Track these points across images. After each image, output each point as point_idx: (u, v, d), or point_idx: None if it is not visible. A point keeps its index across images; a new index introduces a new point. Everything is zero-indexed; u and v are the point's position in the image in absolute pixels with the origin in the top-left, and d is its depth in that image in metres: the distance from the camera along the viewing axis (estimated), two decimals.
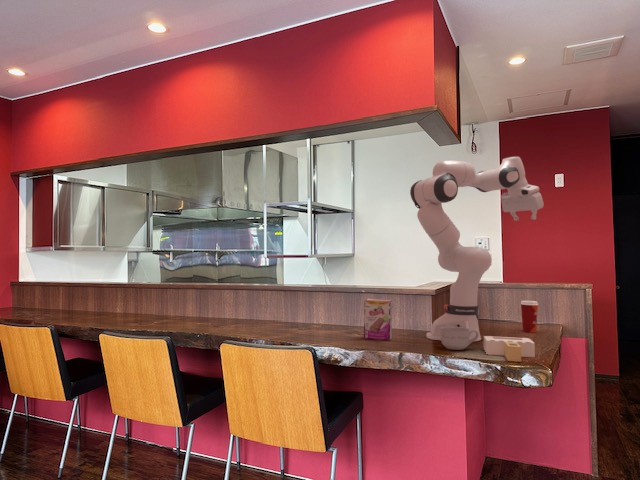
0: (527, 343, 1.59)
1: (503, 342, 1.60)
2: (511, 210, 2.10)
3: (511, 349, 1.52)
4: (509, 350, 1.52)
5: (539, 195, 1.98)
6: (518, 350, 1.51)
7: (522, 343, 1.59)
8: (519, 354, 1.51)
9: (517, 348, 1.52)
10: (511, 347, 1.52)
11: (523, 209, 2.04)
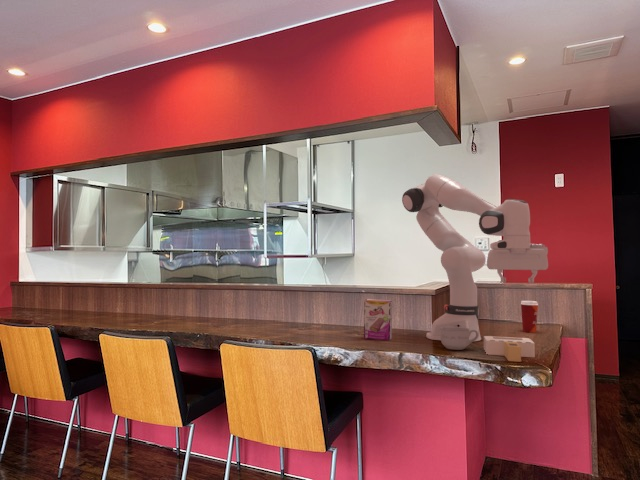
0: (527, 343, 1.59)
1: (503, 342, 1.60)
2: None
3: (511, 349, 1.52)
4: (509, 350, 1.52)
5: (490, 253, 1.61)
6: (518, 350, 1.51)
7: (522, 343, 1.59)
8: (519, 354, 1.51)
9: (517, 348, 1.52)
10: (511, 347, 1.52)
11: None
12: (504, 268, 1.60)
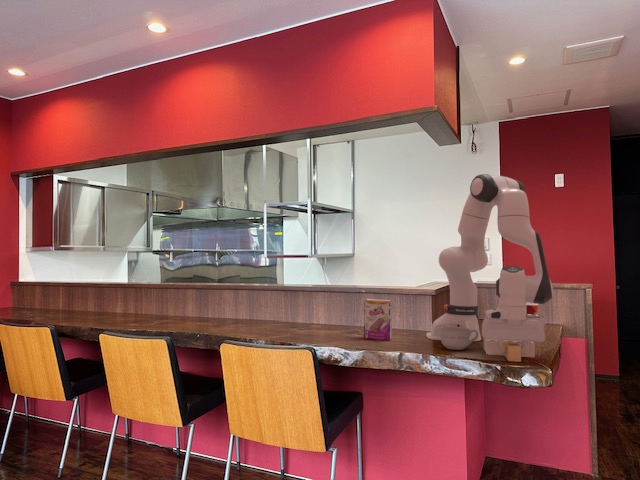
0: (527, 343, 1.59)
1: (503, 342, 1.60)
2: None
3: (511, 349, 1.52)
4: (509, 350, 1.52)
5: (484, 322, 1.57)
6: (518, 350, 1.51)
7: None
8: (519, 354, 1.51)
9: (517, 348, 1.52)
10: (511, 347, 1.52)
11: None
12: (498, 338, 1.55)
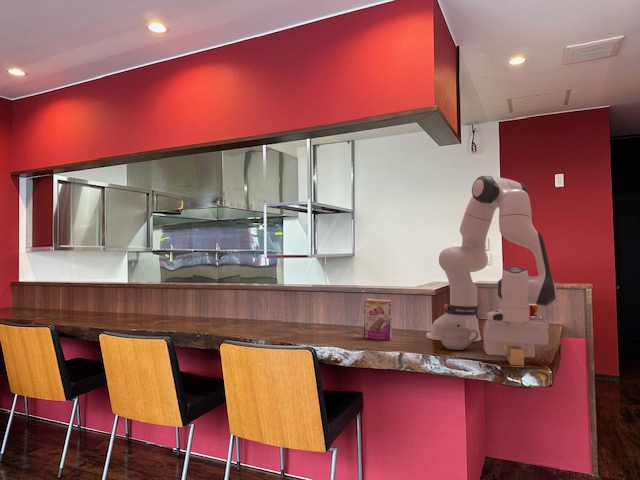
0: None
1: None
2: None
3: (514, 352, 1.47)
4: (512, 353, 1.47)
5: (486, 324, 1.52)
6: (521, 353, 1.47)
7: None
8: (522, 357, 1.47)
9: (520, 351, 1.47)
10: (514, 350, 1.47)
11: None
12: (500, 341, 1.50)
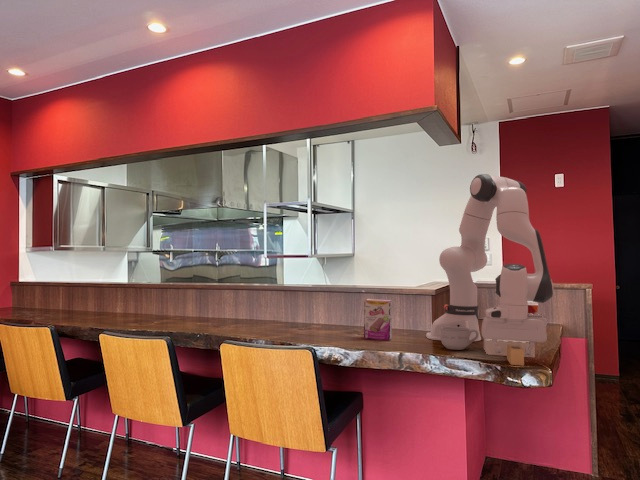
0: (527, 343, 1.59)
1: (503, 342, 1.60)
2: None
3: (514, 352, 1.47)
4: (512, 353, 1.47)
5: (484, 321, 1.52)
6: (521, 353, 1.47)
7: (522, 343, 1.59)
8: (522, 358, 1.46)
9: (520, 351, 1.47)
10: (514, 350, 1.47)
11: None
12: (498, 338, 1.51)
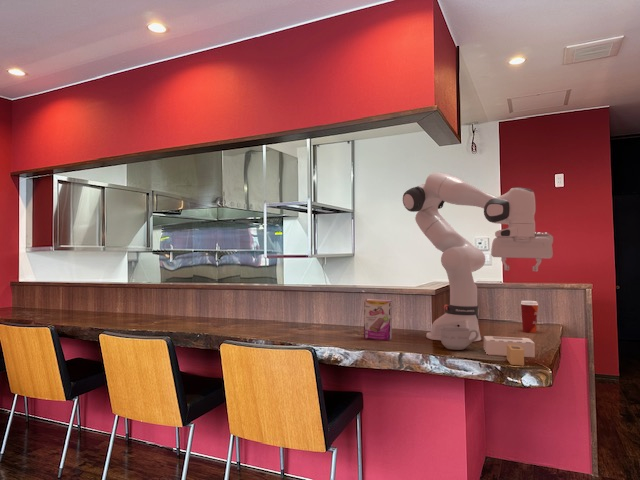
0: (527, 343, 1.59)
1: (503, 342, 1.60)
2: None
3: (514, 352, 1.47)
4: (512, 353, 1.47)
5: (494, 241, 1.62)
6: (521, 353, 1.47)
7: (522, 343, 1.59)
8: (522, 358, 1.46)
9: (520, 351, 1.47)
10: (514, 350, 1.47)
11: None
12: (507, 256, 1.61)
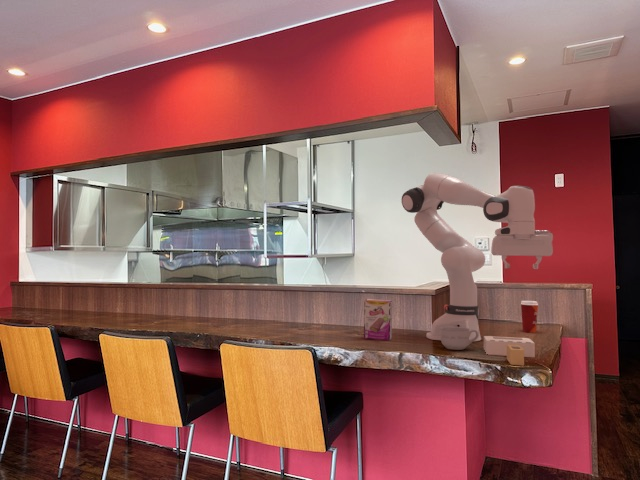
0: (527, 343, 1.59)
1: (503, 342, 1.60)
2: None
3: (514, 352, 1.47)
4: (512, 353, 1.47)
5: (494, 239, 1.63)
6: (521, 353, 1.47)
7: (522, 343, 1.59)
8: (522, 358, 1.46)
9: (520, 351, 1.47)
10: (514, 350, 1.47)
11: None
12: (508, 254, 1.61)
